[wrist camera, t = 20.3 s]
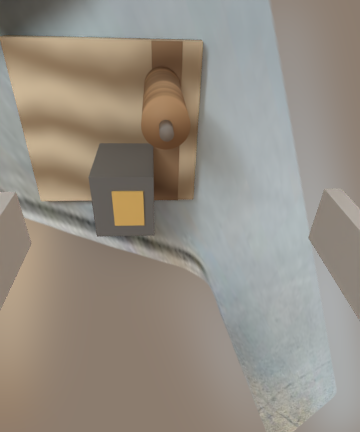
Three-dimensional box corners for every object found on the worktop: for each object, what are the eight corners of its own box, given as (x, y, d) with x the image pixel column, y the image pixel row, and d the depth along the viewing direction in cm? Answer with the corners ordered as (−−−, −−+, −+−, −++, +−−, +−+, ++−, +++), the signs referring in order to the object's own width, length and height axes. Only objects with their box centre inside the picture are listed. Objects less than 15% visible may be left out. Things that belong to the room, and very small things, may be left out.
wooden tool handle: (143, 66, 32) (139, 108, 21) (179, 66, 33) (194, 108, 22) (144, 103, 34) (141, 158, 23) (178, 103, 35) (191, 158, 24)
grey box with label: (99, 143, 37) (88, 178, 30) (153, 143, 37) (153, 178, 30) (105, 196, 41) (96, 237, 34) (154, 195, 41) (154, 236, 34)
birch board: (4, 35, 31) (-2, 36, 30) (201, 40, 33) (203, 41, 31) (43, 196, 41) (40, 201, 40) (192, 194, 43) (193, 199, 42)
